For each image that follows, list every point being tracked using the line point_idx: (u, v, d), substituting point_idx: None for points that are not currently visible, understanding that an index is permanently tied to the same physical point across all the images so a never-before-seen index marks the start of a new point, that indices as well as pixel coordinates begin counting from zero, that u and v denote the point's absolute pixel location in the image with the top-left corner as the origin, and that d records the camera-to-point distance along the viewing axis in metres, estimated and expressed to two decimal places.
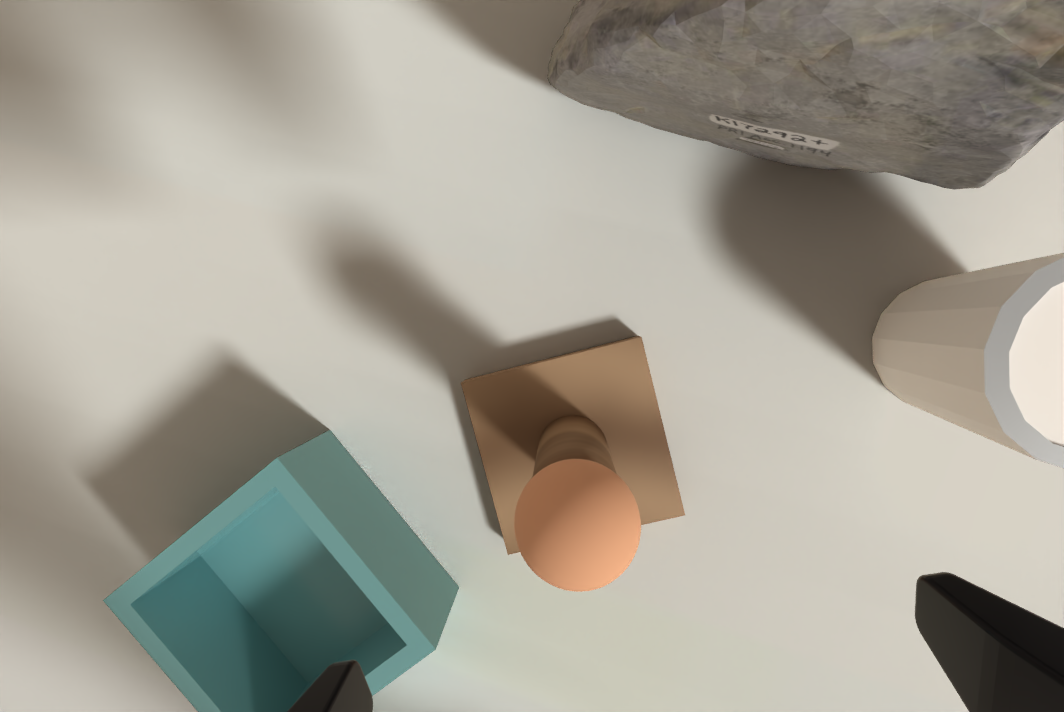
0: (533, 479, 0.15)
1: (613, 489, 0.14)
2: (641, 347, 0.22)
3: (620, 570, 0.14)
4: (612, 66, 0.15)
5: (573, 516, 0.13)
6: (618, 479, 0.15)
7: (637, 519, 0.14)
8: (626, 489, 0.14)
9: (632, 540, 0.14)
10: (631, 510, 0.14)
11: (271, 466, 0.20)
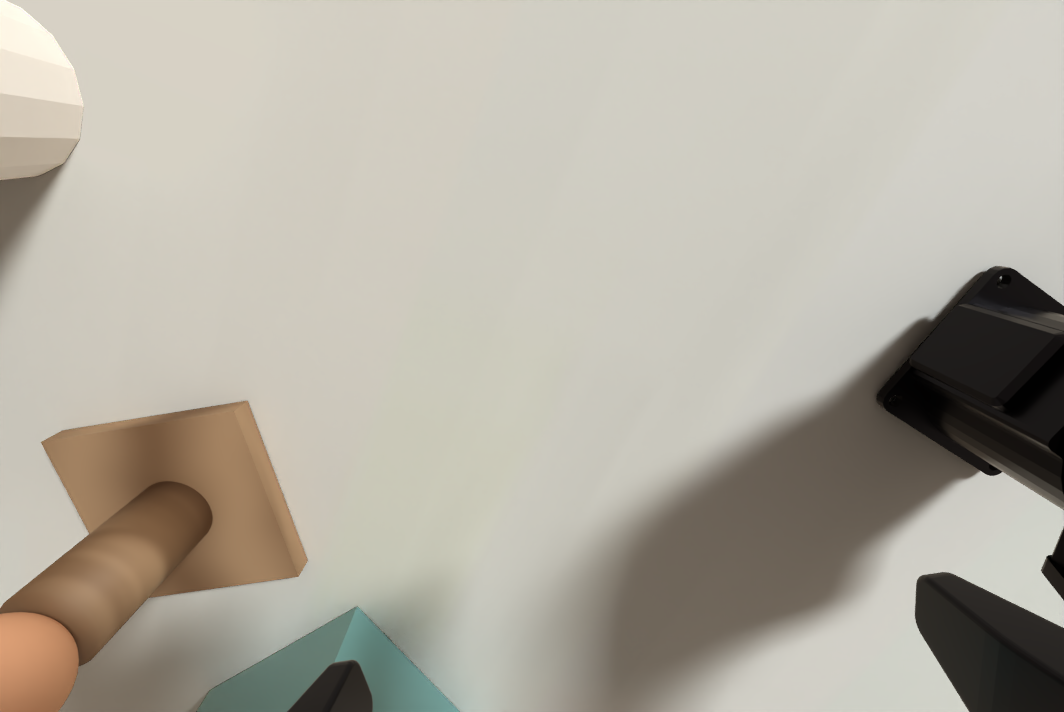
0: None
1: None
2: (52, 442, 0.21)
3: None
4: None
5: None
6: None
7: None
8: None
9: None
10: None
11: None
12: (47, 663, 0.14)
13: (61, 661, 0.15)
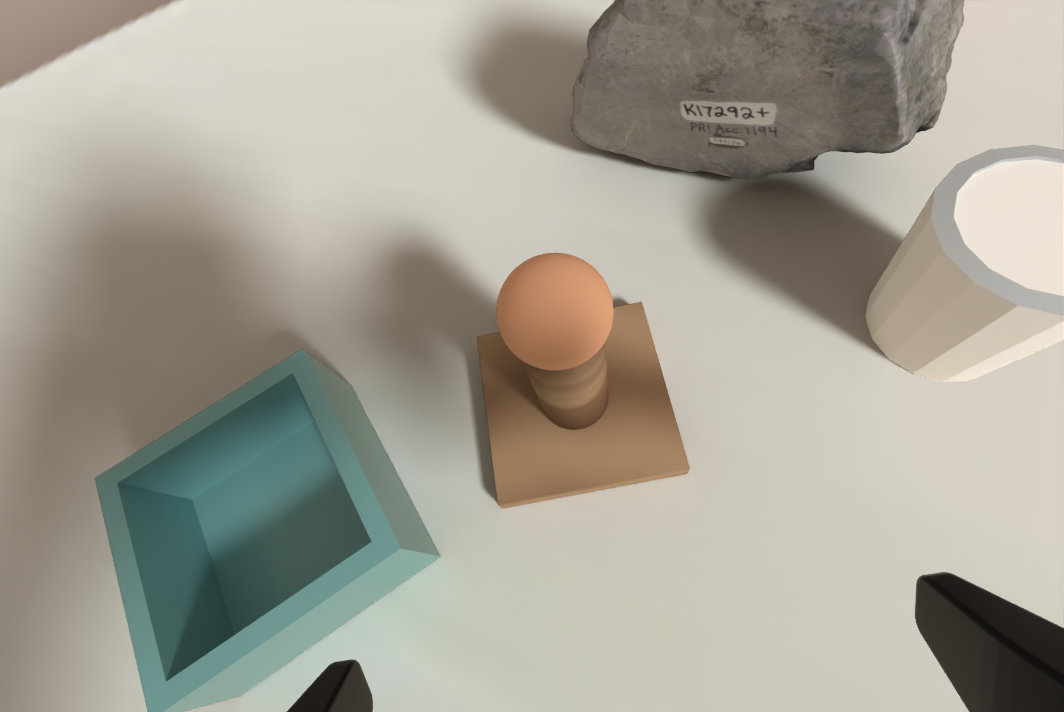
0: None
1: (586, 262, 0.16)
2: (641, 310, 0.24)
3: (588, 318, 0.15)
4: (603, 53, 0.22)
5: (546, 259, 0.15)
6: None
7: (607, 290, 0.15)
8: None
9: (600, 294, 0.15)
10: (601, 278, 0.15)
11: (295, 356, 0.22)
12: (577, 360, 0.15)
13: (570, 367, 0.16)
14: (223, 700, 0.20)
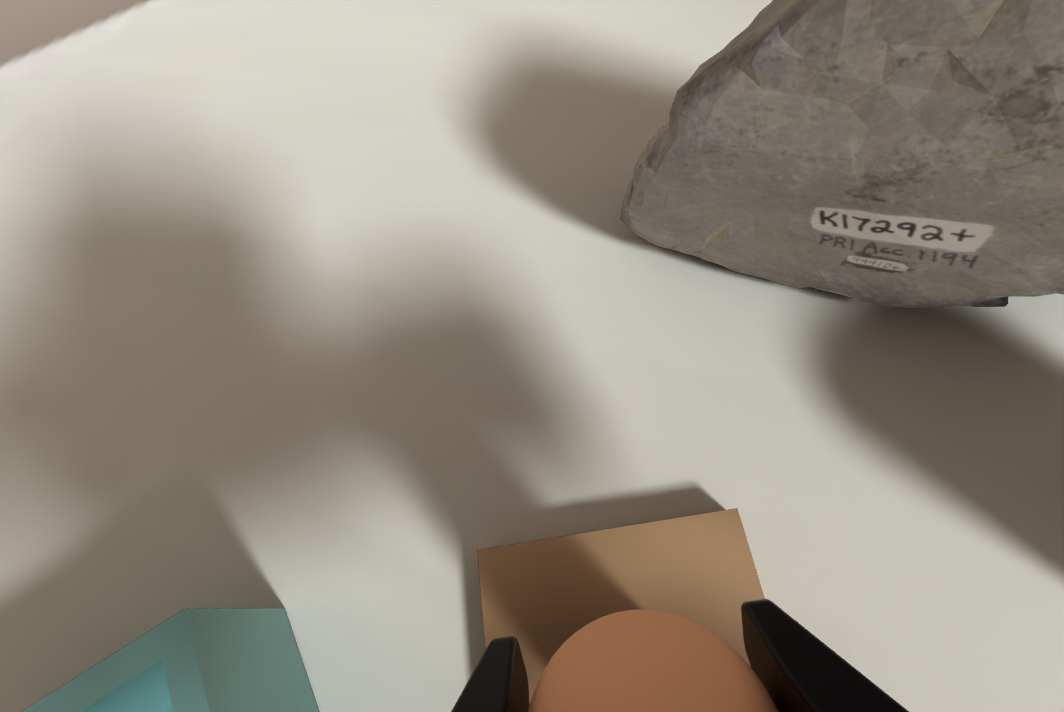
0: (571, 636, 0.08)
1: (734, 664, 0.07)
2: (738, 523, 0.16)
3: None
4: (699, 131, 0.13)
5: (653, 698, 0.06)
6: (739, 655, 0.07)
7: None
8: (758, 678, 0.07)
9: None
10: None
11: (170, 623, 0.13)
12: None
13: None
14: None
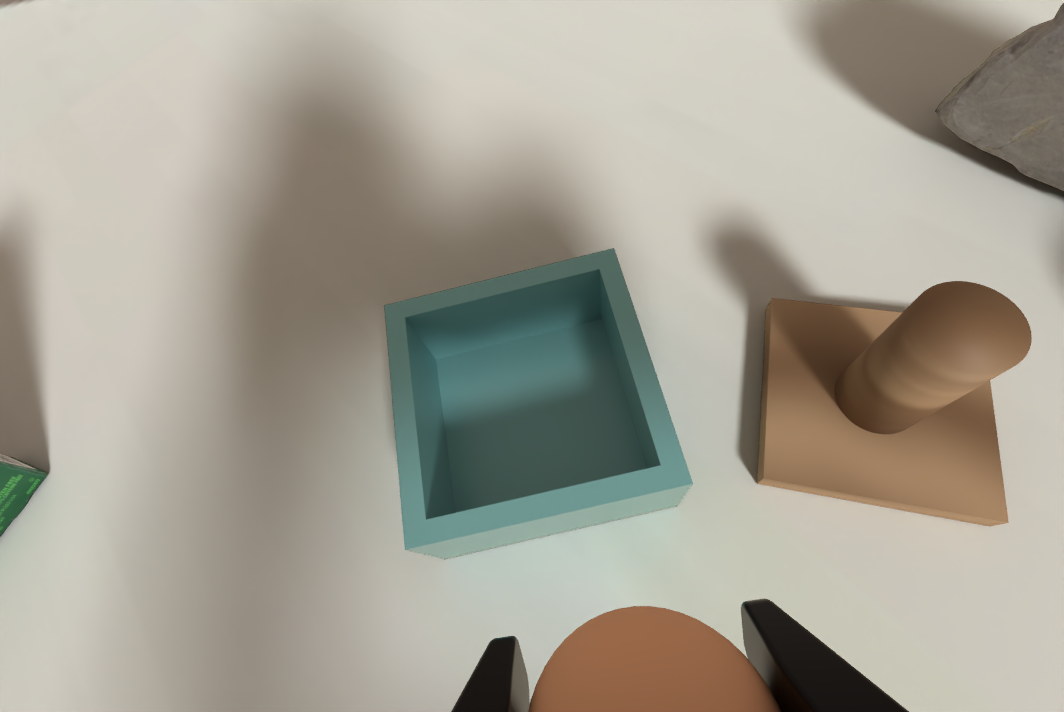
0: (572, 633, 0.08)
1: (735, 660, 0.07)
2: None
3: None
4: None
5: (654, 694, 0.06)
6: (740, 651, 0.07)
7: None
8: (759, 674, 0.07)
9: None
10: None
11: (604, 253, 0.21)
12: None
13: None
14: (437, 557, 0.20)
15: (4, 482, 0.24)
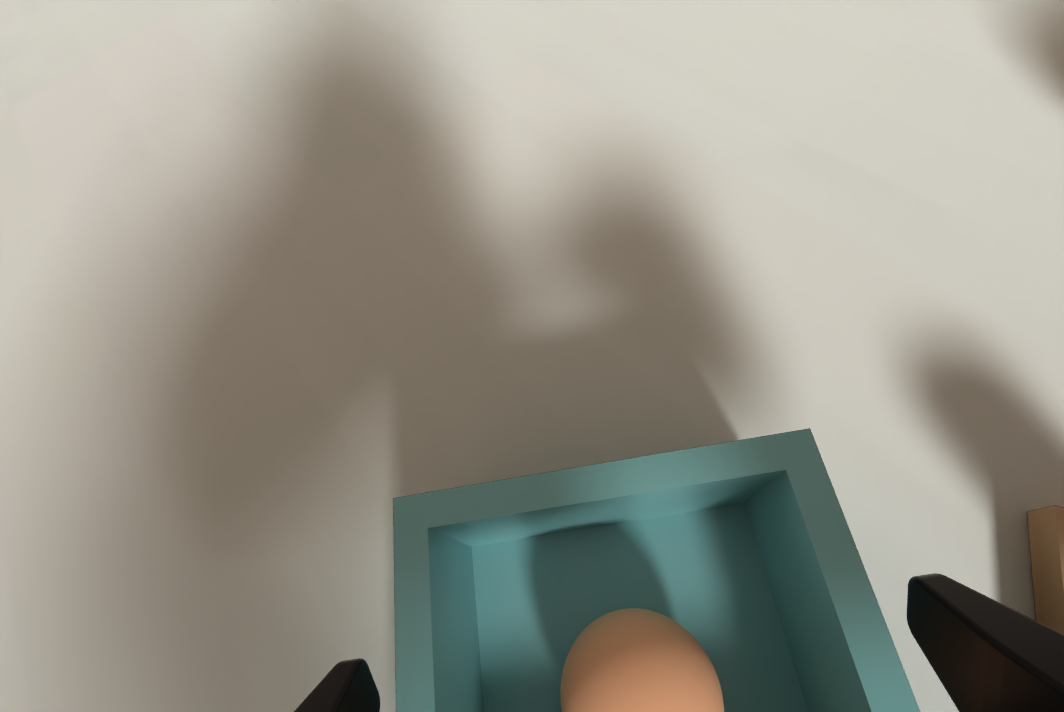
0: (589, 625, 0.12)
1: (688, 640, 0.12)
2: None
3: None
4: None
5: (640, 659, 0.11)
6: (692, 636, 0.12)
7: (720, 690, 0.11)
8: (703, 649, 0.12)
9: None
10: (711, 673, 0.11)
11: (793, 436, 0.12)
12: None
13: None
14: None
15: None
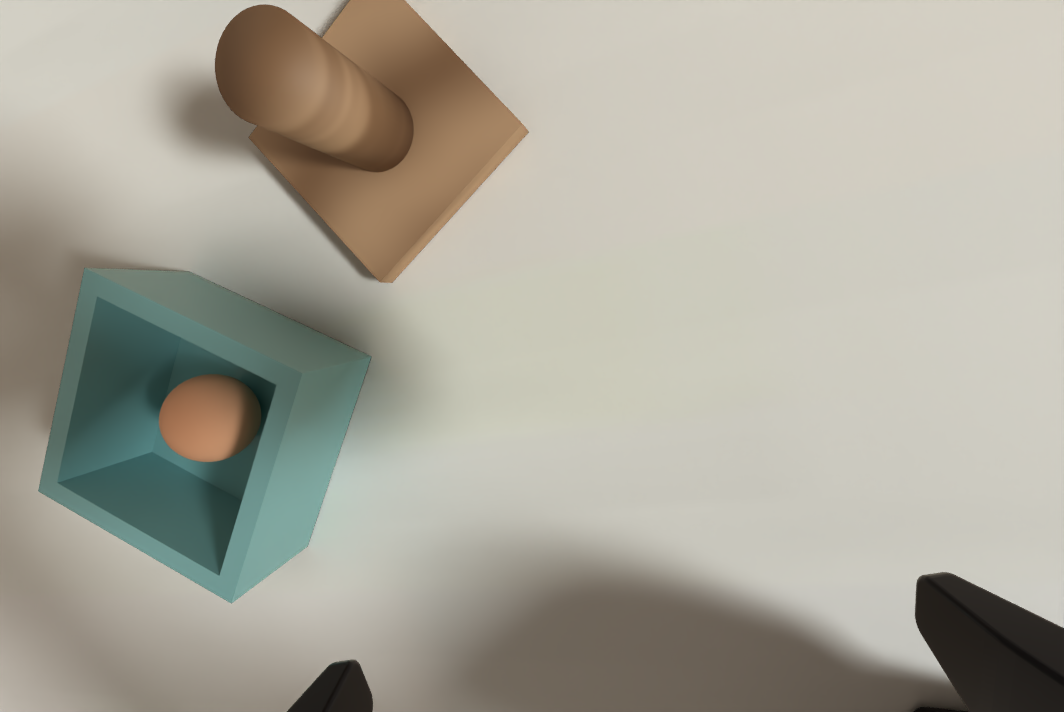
0: None
1: (187, 381, 0.21)
2: None
3: (222, 411, 0.20)
4: None
5: (164, 411, 0.20)
6: (200, 375, 0.21)
7: (215, 381, 0.21)
8: (205, 375, 0.21)
9: (213, 392, 0.20)
10: (204, 380, 0.21)
11: (84, 279, 0.19)
12: (252, 425, 0.21)
13: (255, 430, 0.22)
14: (293, 556, 0.23)
15: None
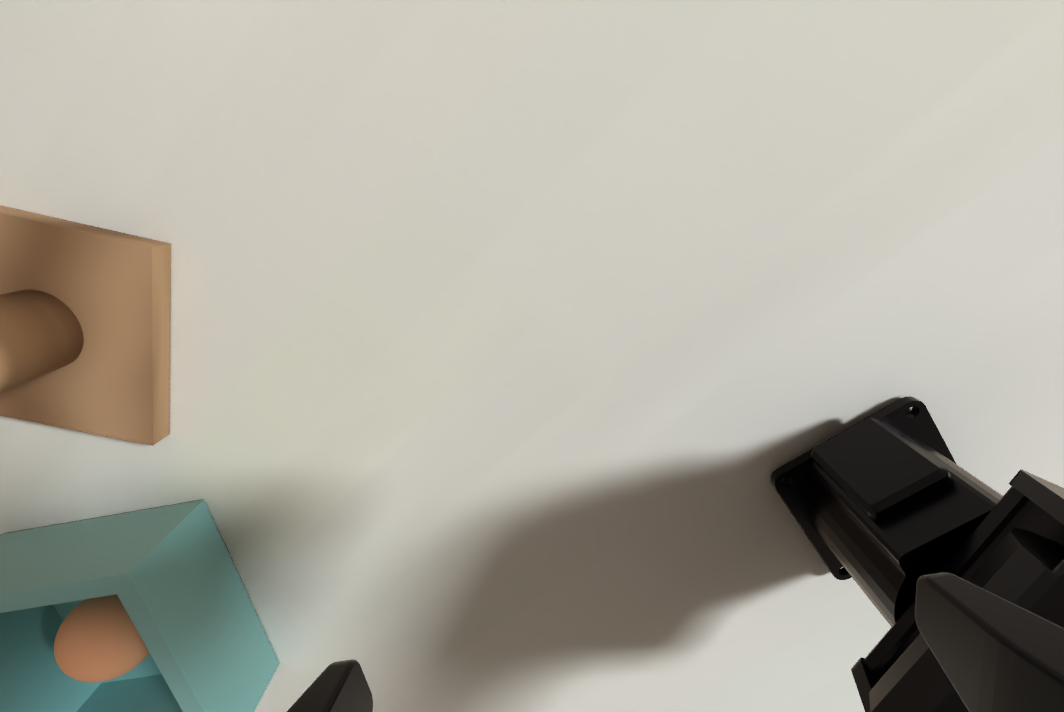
0: None
1: (63, 621, 0.22)
2: None
3: (108, 624, 0.21)
4: None
5: (57, 658, 0.21)
6: None
7: (88, 604, 0.22)
8: (77, 605, 0.22)
9: (89, 615, 0.21)
10: (77, 611, 0.21)
11: None
12: None
13: None
14: (269, 681, 0.25)
15: None
